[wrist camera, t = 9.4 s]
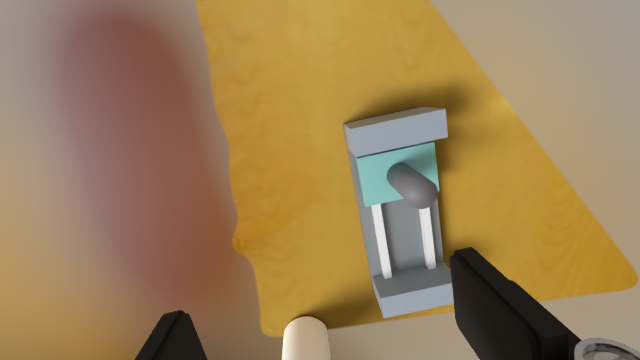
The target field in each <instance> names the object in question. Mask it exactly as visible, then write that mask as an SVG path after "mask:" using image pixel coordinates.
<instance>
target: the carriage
mask: <svg viewBox="0 0 640 360" xmlns="http://www.w3.org/2000/svg"><path fill="white" fill-rule="evenodd" d="M356 161H357V166H358V172H359V178H360V183H361V189H362V195H363V201H364V205H365V206H366V207H368V206H372V205H377V204H382V203H386V202H391V201H395V200H400V199H405V200H406V201H407V202H408V203H409V204H410V205H411V206H412V207H414V208H416V209H425V208H428V207H430V206H431V205H432V204H433V203H434V202H435V201H436V199H437V196H438V191H439V182H438V172H437V162H436V152H435V142H433V141H428V142H423V143H419V144H414V145H409V146H405V147H400V148H396V149H391V150H386V151H382V152H377V153H372V154H368V155H363V156H358V157H356Z"/></svg>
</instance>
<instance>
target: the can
mask: <svg viewBox="0 0 640 360" xmlns="http://www.w3.org/2000/svg"><path fill="white" fill-rule="evenodd" d="M282 360H331V357H330V349H329V341H328V333H327V328H326V326H325V325H324V324H323V323H322V322H321V321H320V320H318V319H316V318H314V317H309V316H304V317H299V318H297V319H295V320H293V321H292V322H290V323H289V324H288V325H287V327H286V329H285V332H284V340H283V352H282Z"/></svg>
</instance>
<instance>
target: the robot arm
mask: <svg viewBox="0 0 640 360" xmlns="http://www.w3.org/2000/svg"><path fill="white" fill-rule="evenodd" d="M450 268H451V278H452V289H453V299H454V309H455V319H456V322H457V325H458V327H459V329H460V331H461V332H462V333H463V335H464V337H465V338H466V340H467V341H468V343H469V344H470V346H471V347H472V349H473V350H474V351H475V353H476V354H477V356H478V357H479V359H480V360H640V352H638V351H637V350H635V349H633V348H631V347H629V346H626V345H625V344H622V343H619V342H616V341H613V340H607V339H601V338H589V339H586V340H580V339H579V338H578V337H577V336H576V335H575V334H574V333H572V332H571V331H570V330H569V329H568V328H567V327H566V326H564V325H563V324H562V323H561V322H560V321H559V320H558V319H557V318H555V317H554V316H553V315H552V314H551V313H550V312H549V311H547V310H546V309H545V308H544V307H543V306H542V305H540V304H539V303H538V302H537V301H536V300H535V299H534V298H533V297H531V296H530V295H529V294H528V293H527V292H526V291H525V290H523V289H522V288H521V287H520V286H519V285H518V284H517V283H515V282H514V281H511V280H508V279H507V278H506V277H505V276H504V275H503V274H502V273H500V272H499V271H498V270H497V269H496V268H495V267H494V266H493V265H492V264H490V263H489V262H488V261H487V260H486V259H485V258H484V257H483V256H481V255H480V254H479V253H478V252H477V251H476V250H475V249H474V248H472V247H469V248H465V249H460V250H455V251H454V255H453V256H450ZM135 360H207V358H206V355H205V353H204V350H203V348H202V345H201V342H200V340H199V337H198V335H197V332H196V330H195V328H194V325H193V322H192V320H191V317H190V315H189V314H188V313H184V312H183V311H182V310H179V311H174V312H170V313H166V314H164V315H163V316H162V317H161V319H160V320H159V322H158V323H157V325H156V327H155V328H154V330H153V331H152V333H151V335H150V336H149V338H148V339H147V341H146V343H145V344H144V346H143V348H142V349H141V351H140V352H139V354H138V355H137V357H136V359H135Z"/></svg>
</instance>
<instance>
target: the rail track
mask: <svg viewBox="0 0 640 360" xmlns="http://www.w3.org/2000/svg"><path fill="white" fill-rule="evenodd" d="M343 127H344V133H345V138H346V144H347V149H348V155H349V160H350V166H351V171H352V177H353V182H354V187H355V193H356V198H357V204H358V209H359V215H360V220H361V226H362V231H363V237H364V242H365V248H366V253H367V259H368V264H369V270H370V275H371V280H372V286H373V290H374V293H375V296H376V298H377V301H378V304H379V306H380V309H381V312H382V314H383V317H384V318H389V317H393V316H398V315H402V314H407V313H412V312H416V311H421V310H426V309H430V308H435V307H439V306H444V305H449V304H453V303H454V299H453V289H452V278H451V270H450V268H449V267H448V266H447V265H446V264H445V263H444V259H443V249H442V240H441V230H440V220H439V210H438V200H437V199H436V201H435V202H434V203H433V204H432V205H431V206H430V207H428V208H425V209H416V208H414V207H412V206H411V205H410V204H409V203H408V202H407V201H406V200H405V199H400V200H395V201H391V202H386V203H382V204H377V205H372V206H368V207H366V206H365V205H364V201H363V195H362V189H361V183H360V178H359V172H358V166H357V161H356V157H358V156H363V155H368V154H372V153H377V152H382V151H386V150H391V149H396V148H400V147H405V146H409V145H414V144H419V143H423V142H428V141H433V140H437V139H442V138H447V137H448V131H447V120H446V109H444V108H434V107H424V106H423V107H418V108H413V109H409V110H404V111H399V112H395V113H390V114H386V115H381V116H376V117H372V118H367V119H362V120H358V121H353V122H348V123H344V124H343Z"/></svg>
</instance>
